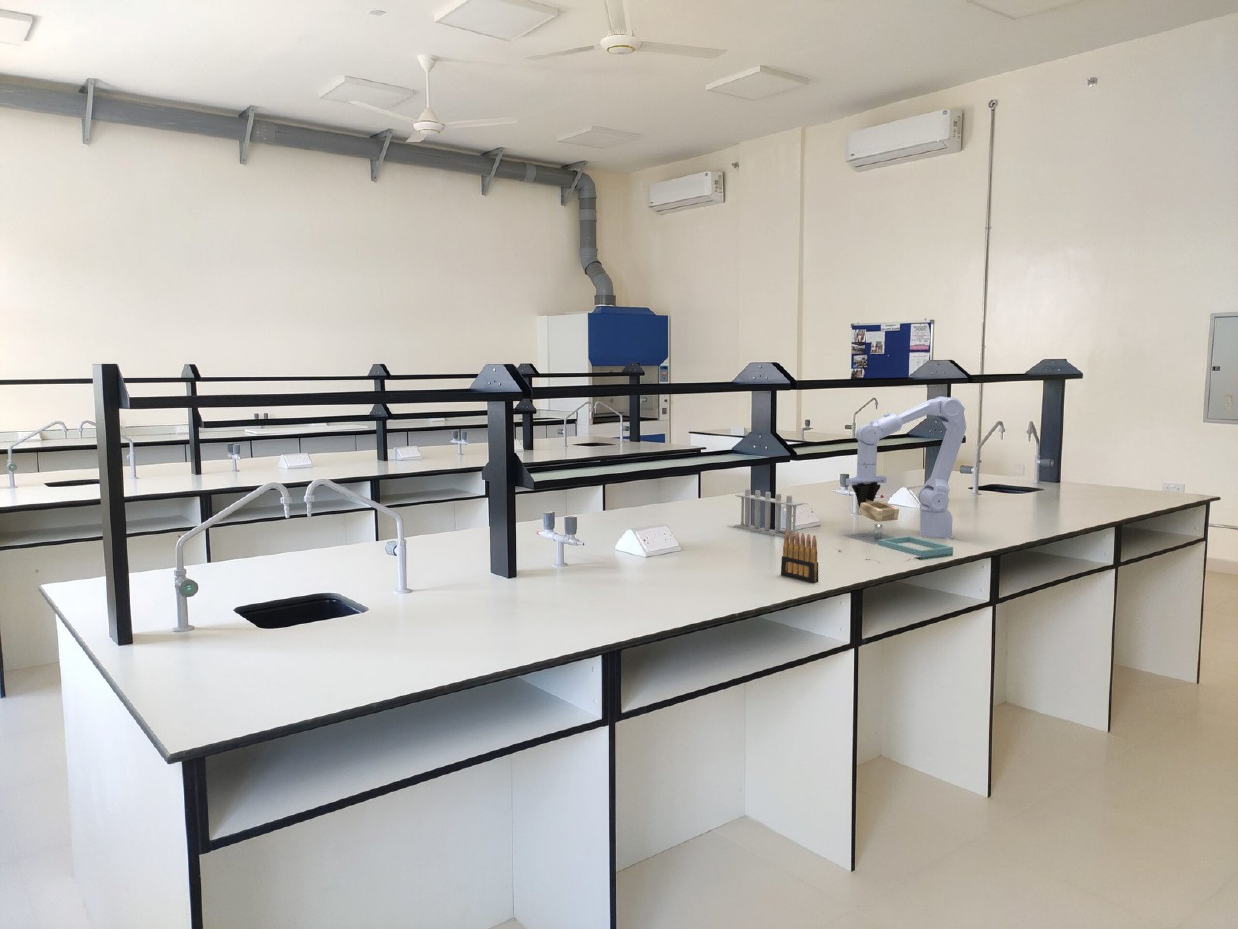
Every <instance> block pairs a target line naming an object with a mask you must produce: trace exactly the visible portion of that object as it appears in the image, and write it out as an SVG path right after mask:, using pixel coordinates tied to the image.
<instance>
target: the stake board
mask: <svg viewBox="0 0 1238 929" xmlns="http://www.w3.org/2000/svg"><path fill="white" fill-rule="evenodd" d="M883 527H884V526H883V524H880V523H874V526H873V531H872V532H864V533H854V534H845V535H843V537H844V538H845V537H846V538H849V539H853V540H857V541H861V542H863V543H864V542H865V543H868V544H871V545H878V540H881V539H889V538H897V537H895V536H892V535H888V534H884V533H883Z"/></svg>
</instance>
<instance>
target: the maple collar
mask: <svg viewBox="0 0 1238 929" xmlns="http://www.w3.org/2000/svg"><path fill="white" fill-rule="evenodd" d="M856 509H857V510H859V512H858V513H859V514H860V515H862V516H864V517H865V518H868V519H870V520H873V521H875V522H876V523H878V522H881V523H882V522H887V521H898V520H899V513H900V508H898V507H896V506H894V505H891V504H889V503H886V502H884V501H882V500H878V501H875V500H874V501H871V500H869V499H866V502H864V503H861V505H860V507H859V505H858V502H857V505H856Z"/></svg>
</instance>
